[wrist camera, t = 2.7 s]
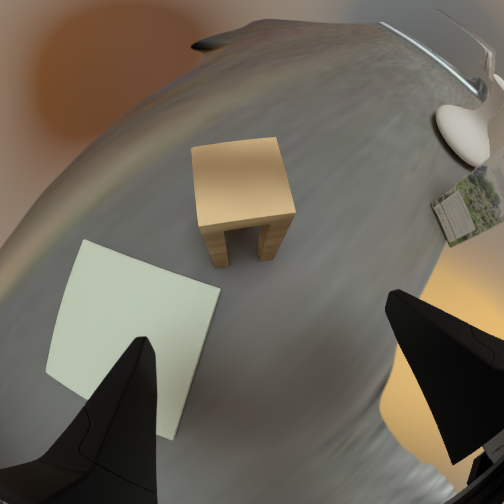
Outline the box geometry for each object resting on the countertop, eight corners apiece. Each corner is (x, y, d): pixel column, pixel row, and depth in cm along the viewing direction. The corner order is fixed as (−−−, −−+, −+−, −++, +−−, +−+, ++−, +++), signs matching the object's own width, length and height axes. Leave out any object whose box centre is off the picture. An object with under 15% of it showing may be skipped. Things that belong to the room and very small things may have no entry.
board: (221, 290, 23) (220, 288, 22) (175, 436, 19) (172, 440, 18) (88, 242, 23) (83, 239, 22) (51, 371, 19) (45, 372, 18)
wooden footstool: (273, 259, 24) (295, 212, 14) (215, 268, 23) (198, 226, 13) (262, 206, 25) (275, 137, 15) (208, 214, 24) (191, 147, 15)
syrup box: (472, 235, 25) (554, 188, 11) (448, 249, 25) (543, 199, 11) (454, 194, 27) (527, 135, 13) (427, 204, 26) (510, 136, 12)
